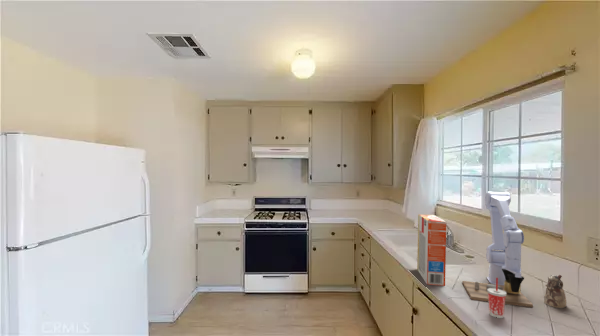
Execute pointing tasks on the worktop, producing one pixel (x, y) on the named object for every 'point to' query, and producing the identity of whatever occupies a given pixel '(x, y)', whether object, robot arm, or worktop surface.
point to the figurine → (555, 292)
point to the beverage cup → (496, 301)
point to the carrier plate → (485, 294)
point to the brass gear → (508, 287)
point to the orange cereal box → (431, 249)
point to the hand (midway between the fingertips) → (512, 289)
